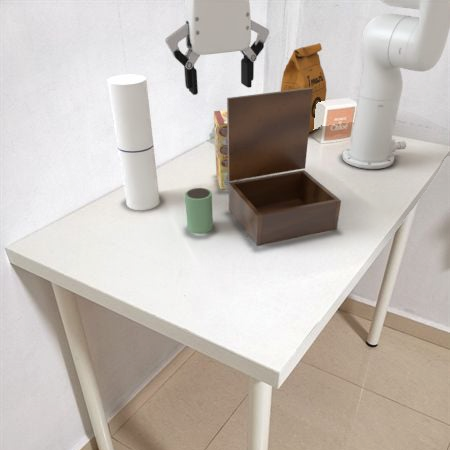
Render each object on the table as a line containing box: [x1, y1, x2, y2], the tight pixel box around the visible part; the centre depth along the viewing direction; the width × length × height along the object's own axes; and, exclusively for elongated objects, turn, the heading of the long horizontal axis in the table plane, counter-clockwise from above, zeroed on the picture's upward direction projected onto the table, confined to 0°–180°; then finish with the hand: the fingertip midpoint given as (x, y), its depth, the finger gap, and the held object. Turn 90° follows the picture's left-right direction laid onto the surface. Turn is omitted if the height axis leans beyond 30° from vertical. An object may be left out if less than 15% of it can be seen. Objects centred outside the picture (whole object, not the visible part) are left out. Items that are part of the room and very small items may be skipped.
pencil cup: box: [184, 187, 214, 235], centre depth 90 cm, size 5×5×8 cm
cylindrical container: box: [106, 73, 161, 211], centre depth 95 cm, size 7×7×25 cm
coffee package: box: [280, 42, 328, 133], centre depth 129 cm, size 10×12×22 cm
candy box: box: [213, 109, 239, 190], centre depth 104 cm, size 9×4×15 cm, turn 8°
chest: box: [228, 169, 342, 247], centre depth 93 cm, size 15×17×7 cm
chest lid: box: [226, 88, 313, 181], centre depth 92 cm, size 16×17×5 cm
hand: (220, 89), depth 81 cm, fingers open, 9 cm apart
